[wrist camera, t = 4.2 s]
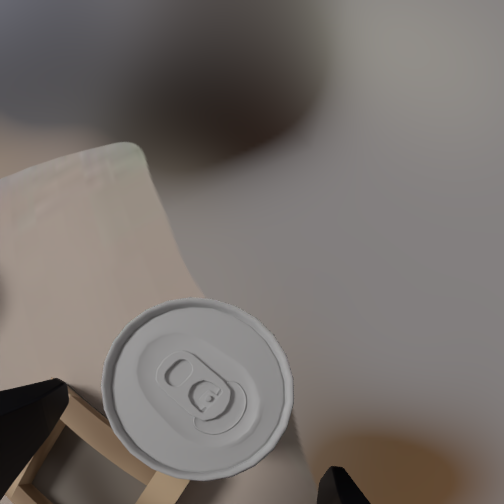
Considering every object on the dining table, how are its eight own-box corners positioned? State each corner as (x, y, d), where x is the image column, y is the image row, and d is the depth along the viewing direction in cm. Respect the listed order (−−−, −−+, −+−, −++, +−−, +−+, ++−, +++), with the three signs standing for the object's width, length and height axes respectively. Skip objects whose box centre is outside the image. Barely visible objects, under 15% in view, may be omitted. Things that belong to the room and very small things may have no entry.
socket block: (125, 572, 9) (116, 583, 7) (9, 480, 11) (-7, 480, 9) (194, 474, 14) (190, 479, 12) (65, 383, 16) (51, 377, 14)
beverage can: (216, 466, 14) (210, 524, 4) (155, 414, 16) (60, 381, 6) (267, 408, 17) (338, 371, 7) (206, 361, 18) (189, 258, 8)
